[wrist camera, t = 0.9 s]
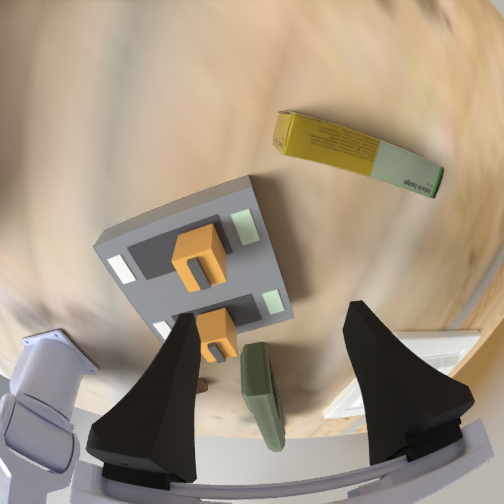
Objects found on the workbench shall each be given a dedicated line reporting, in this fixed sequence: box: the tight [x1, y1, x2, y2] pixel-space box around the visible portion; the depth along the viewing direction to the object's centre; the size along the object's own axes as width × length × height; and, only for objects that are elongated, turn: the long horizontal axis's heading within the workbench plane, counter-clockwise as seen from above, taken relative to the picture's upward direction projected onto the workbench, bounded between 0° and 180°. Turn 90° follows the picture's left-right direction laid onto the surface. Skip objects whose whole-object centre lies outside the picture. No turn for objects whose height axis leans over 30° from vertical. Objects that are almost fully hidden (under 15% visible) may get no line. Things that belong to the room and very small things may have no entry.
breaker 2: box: [196, 308, 238, 363], centre depth 21 cm, size 2×2×3 cm
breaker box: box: [93, 175, 295, 344], centre depth 22 cm, size 12×12×3 cm
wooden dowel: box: [196, 378, 208, 394], centre depth 32 cm, size 10×2×2 cm
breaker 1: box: [171, 223, 227, 293], centre depth 17 cm, size 2×2×3 cm
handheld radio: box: [240, 342, 285, 452], centre depth 33 cm, size 7×3×25 cm
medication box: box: [273, 111, 444, 199], centre depth 17 cm, size 12×3×4 cm, turn 78°
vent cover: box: [323, 330, 481, 419], centre depth 37 cm, size 23×3×21 cm
